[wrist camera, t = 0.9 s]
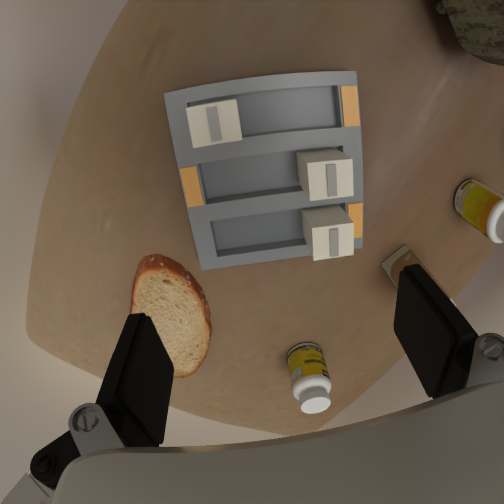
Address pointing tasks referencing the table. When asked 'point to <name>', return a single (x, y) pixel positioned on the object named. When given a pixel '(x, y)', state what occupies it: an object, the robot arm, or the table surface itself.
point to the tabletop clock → (478, 26)
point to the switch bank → (264, 163)
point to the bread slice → (174, 310)
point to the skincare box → (400, 261)
